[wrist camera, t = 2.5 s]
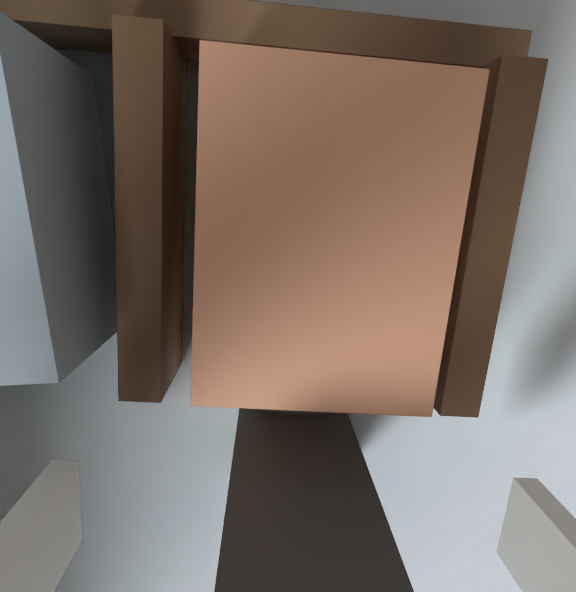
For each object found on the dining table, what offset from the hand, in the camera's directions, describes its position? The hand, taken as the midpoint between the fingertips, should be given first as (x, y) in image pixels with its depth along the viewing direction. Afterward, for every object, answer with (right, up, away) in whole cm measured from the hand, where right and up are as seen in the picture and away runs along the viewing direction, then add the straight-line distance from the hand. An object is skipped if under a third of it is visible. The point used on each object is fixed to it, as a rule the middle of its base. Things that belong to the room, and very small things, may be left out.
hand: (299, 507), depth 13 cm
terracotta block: (0, +6, +2) cm, 6 cm away
